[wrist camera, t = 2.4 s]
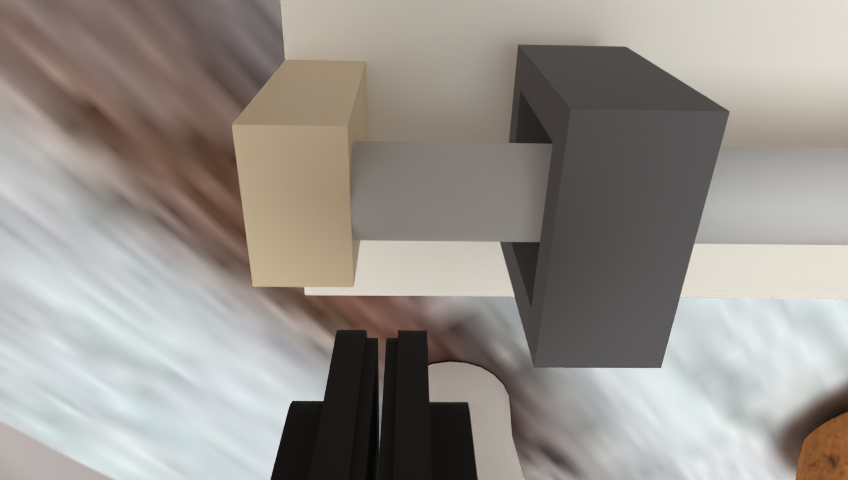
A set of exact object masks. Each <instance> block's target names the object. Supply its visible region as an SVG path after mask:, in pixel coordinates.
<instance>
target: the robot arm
mask: <svg viewBox="0 0 848 480" xmlns="http://www.w3.org/2000/svg"><path fill="white" fill-rule="evenodd" d="M271 480H478V477H477V469H476V460H475V452H474V443H473V435H472V426H471V418H470V410H469V405H468V402H429V375H428V347H427V331H400V330H398V338H387V341H386V356H385V372H384V388H383V404H382V420H381V436H380V452H379V379H378V338H367V331H366V330H337V333H336V338H335V343H334V348H333V354H332V359H331V364H330V370H329V375H328V380H327V386H326V391H325V396H324V401H292V403H291V404H290V407H289V410H288V414H287V418H286V422H285V425H284V429H283V433H282V437H281V441H280V445H279V449H278V453H277V457H276V460H275V464H274V468H273V472H272V476H271Z"/></svg>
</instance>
